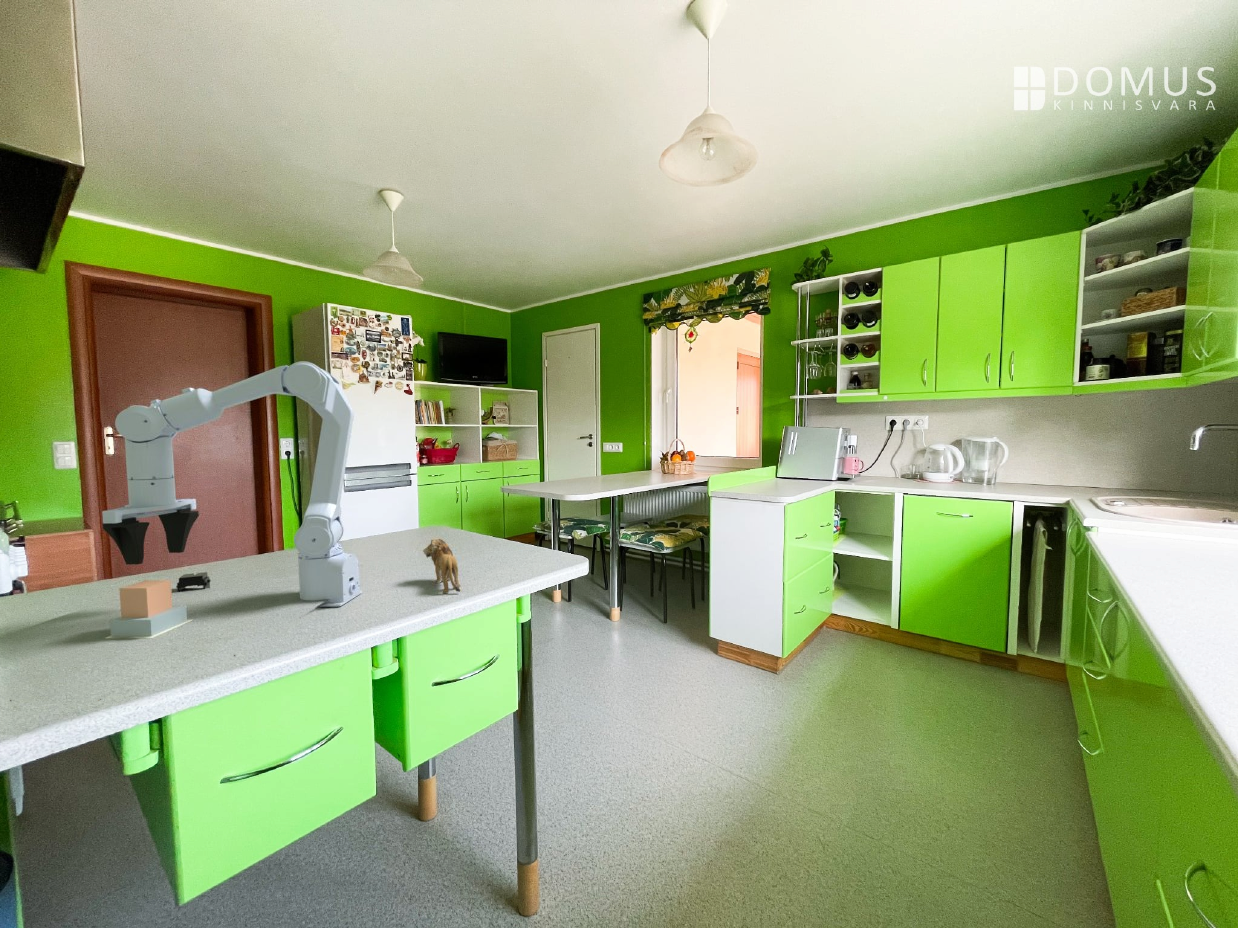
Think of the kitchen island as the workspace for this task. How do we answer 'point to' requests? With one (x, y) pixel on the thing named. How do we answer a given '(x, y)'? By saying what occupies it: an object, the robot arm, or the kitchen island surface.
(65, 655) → the kitchen island surface
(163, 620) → the base block
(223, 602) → the kitchen island surface
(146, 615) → the top block
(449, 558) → the lion figurine
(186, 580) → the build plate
